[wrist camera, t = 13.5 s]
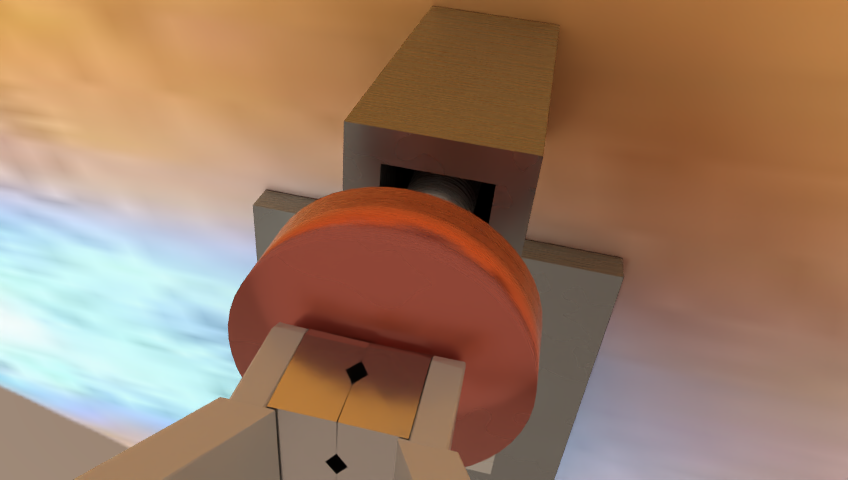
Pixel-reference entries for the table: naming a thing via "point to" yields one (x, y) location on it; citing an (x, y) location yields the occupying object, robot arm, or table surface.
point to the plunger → (408, 294)
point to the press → (483, 191)
